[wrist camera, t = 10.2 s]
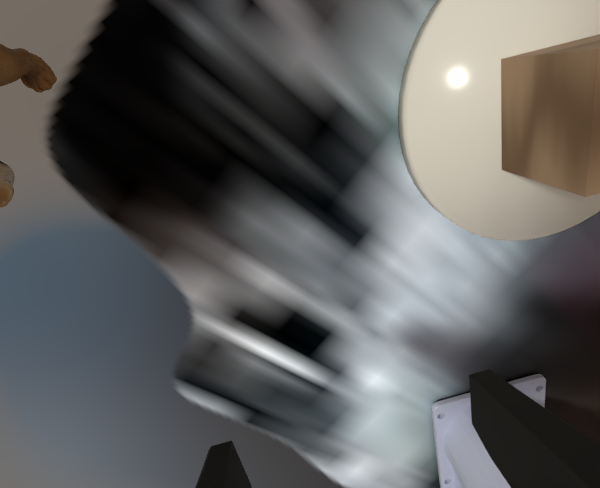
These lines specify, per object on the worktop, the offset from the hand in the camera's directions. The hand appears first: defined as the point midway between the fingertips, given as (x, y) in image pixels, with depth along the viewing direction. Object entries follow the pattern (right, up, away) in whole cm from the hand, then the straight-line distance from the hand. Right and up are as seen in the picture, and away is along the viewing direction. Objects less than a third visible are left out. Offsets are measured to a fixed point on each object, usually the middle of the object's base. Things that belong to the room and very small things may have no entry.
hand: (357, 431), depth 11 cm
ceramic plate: (+10, +13, +7) cm, 18 cm away
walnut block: (+10, +12, +6) cm, 17 cm away
